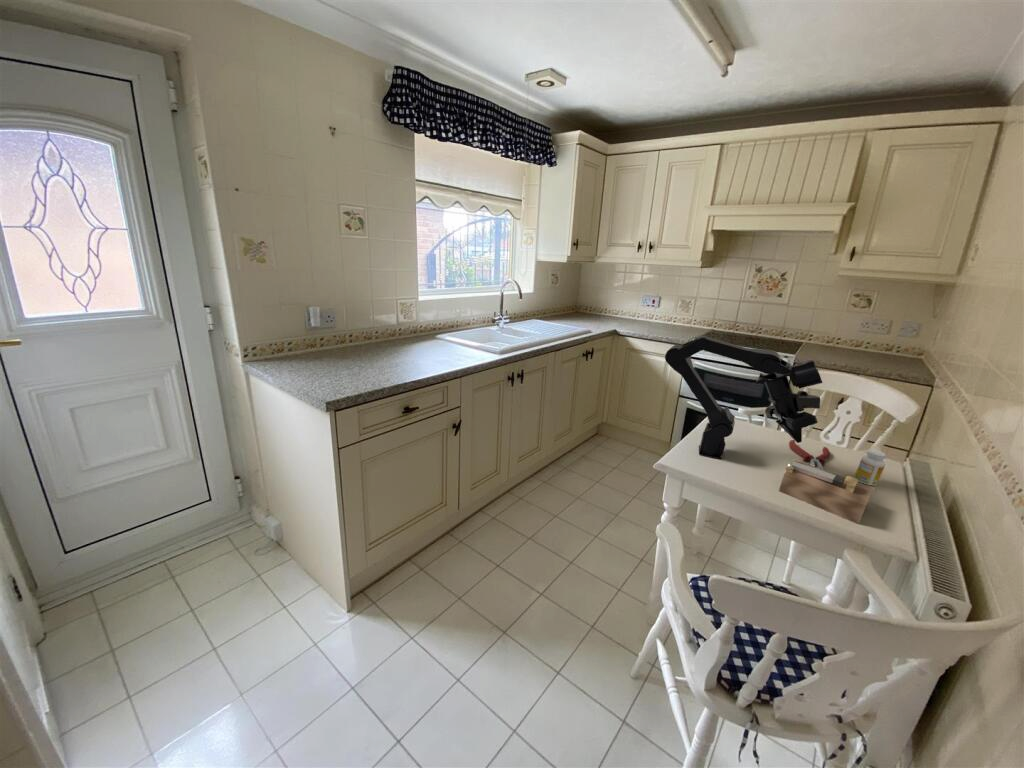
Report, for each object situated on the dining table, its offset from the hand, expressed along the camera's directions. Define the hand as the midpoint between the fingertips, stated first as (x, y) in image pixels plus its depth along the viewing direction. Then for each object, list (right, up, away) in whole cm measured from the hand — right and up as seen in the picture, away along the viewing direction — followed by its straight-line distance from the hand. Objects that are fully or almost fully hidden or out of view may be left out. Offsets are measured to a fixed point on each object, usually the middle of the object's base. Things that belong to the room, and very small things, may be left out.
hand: (799, 442), depth 121 cm
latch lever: (0, -8, -7) cm, 10 cm away
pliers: (+13, -8, +15) cm, 21 cm away
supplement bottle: (+22, -12, +3) cm, 25 cm away
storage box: (+2, -14, -7) cm, 16 cm away
